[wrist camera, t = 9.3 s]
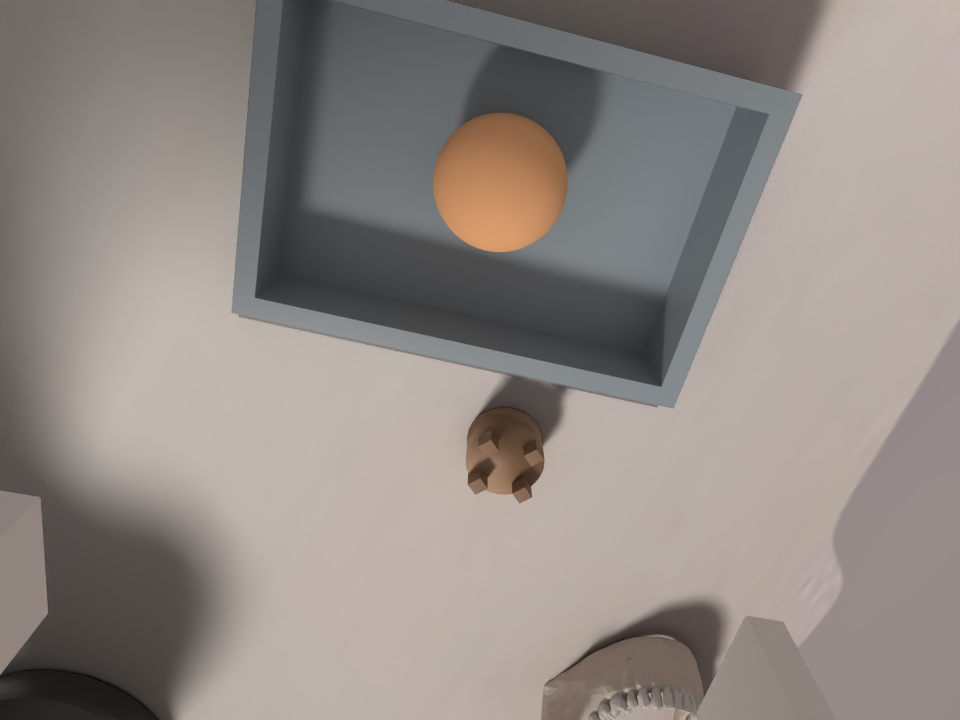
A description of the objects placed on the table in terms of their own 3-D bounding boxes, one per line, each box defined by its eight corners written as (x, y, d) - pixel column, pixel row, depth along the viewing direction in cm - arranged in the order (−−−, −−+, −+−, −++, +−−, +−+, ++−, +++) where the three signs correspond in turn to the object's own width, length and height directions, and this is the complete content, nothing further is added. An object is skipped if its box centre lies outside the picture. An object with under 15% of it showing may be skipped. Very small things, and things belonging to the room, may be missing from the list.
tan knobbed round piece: (491, 481, 40) (492, 516, 37) (453, 428, 39) (450, 461, 36) (554, 450, 39) (560, 483, 36) (517, 394, 38) (519, 424, 35)
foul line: (240, 315, 36) (238, 316, 36) (241, 298, 36) (240, 299, 35) (656, 405, 38) (657, 407, 38) (662, 390, 38) (663, 392, 38)
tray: (261, 282, 35) (231, 312, 31) (293, -35, 29) (260, -50, 25) (652, 368, 37) (673, 408, 33) (760, 89, 31) (802, 94, 27)
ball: (427, 219, 33) (414, 250, 28) (452, 94, 31) (443, 101, 25) (542, 246, 34) (552, 282, 28) (576, 125, 31) (594, 138, 26)
